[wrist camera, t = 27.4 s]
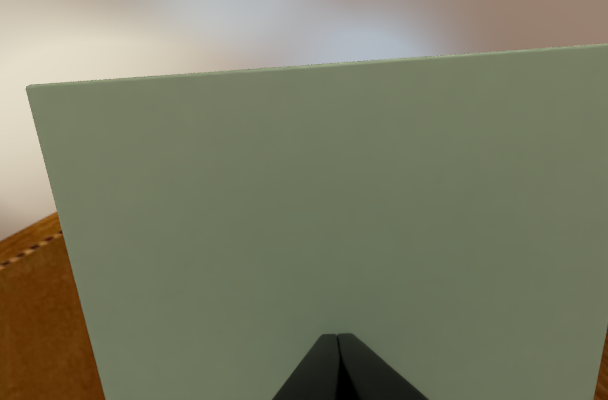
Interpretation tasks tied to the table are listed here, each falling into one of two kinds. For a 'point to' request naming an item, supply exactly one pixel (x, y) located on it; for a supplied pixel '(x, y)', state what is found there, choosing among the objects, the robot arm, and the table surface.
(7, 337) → the table surface
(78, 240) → the lid
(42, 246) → the table surface
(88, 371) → the table surface
